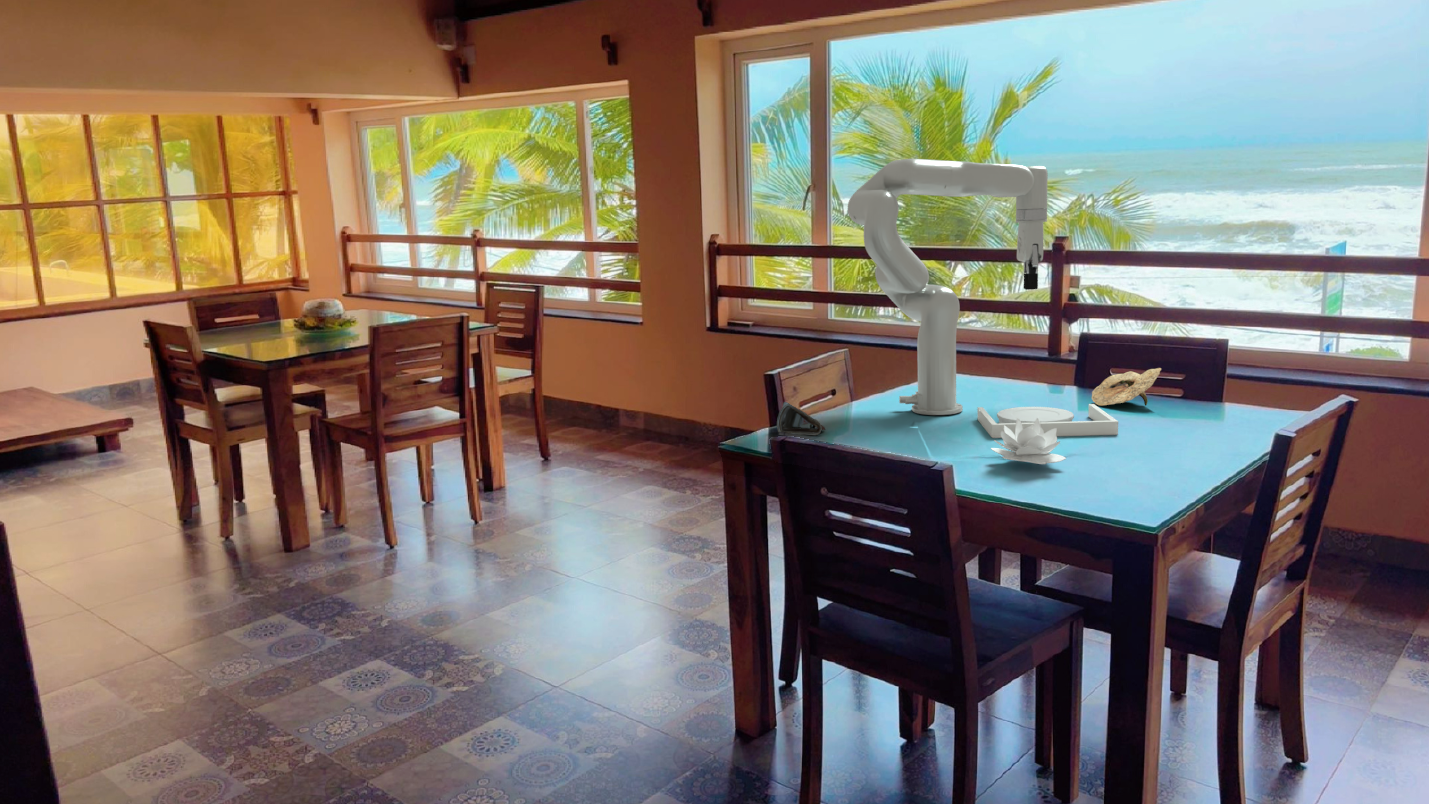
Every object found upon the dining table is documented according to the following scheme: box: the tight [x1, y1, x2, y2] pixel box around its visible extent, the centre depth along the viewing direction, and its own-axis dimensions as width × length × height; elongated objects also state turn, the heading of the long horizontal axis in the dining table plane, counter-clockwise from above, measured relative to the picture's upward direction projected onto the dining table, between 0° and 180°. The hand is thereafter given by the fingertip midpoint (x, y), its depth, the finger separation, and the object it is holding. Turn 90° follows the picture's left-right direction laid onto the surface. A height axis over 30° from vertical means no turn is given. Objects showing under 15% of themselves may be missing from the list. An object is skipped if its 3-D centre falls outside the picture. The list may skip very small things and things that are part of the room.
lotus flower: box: [990, 418, 1067, 465], centre depth 217 cm, size 14×15×9 cm
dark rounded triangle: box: [776, 401, 826, 436], centre depth 251 cm, size 10×7×12 cm
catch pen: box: [977, 403, 1119, 439], centre depth 246 cm, size 27×20×3 cm
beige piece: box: [1091, 367, 1162, 406], centre depth 266 cm, size 18×14×8 cm
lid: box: [996, 406, 1075, 424], centre depth 247 cm, size 17×20×3 cm
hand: (1030, 289), depth 271 cm, fingers closed
